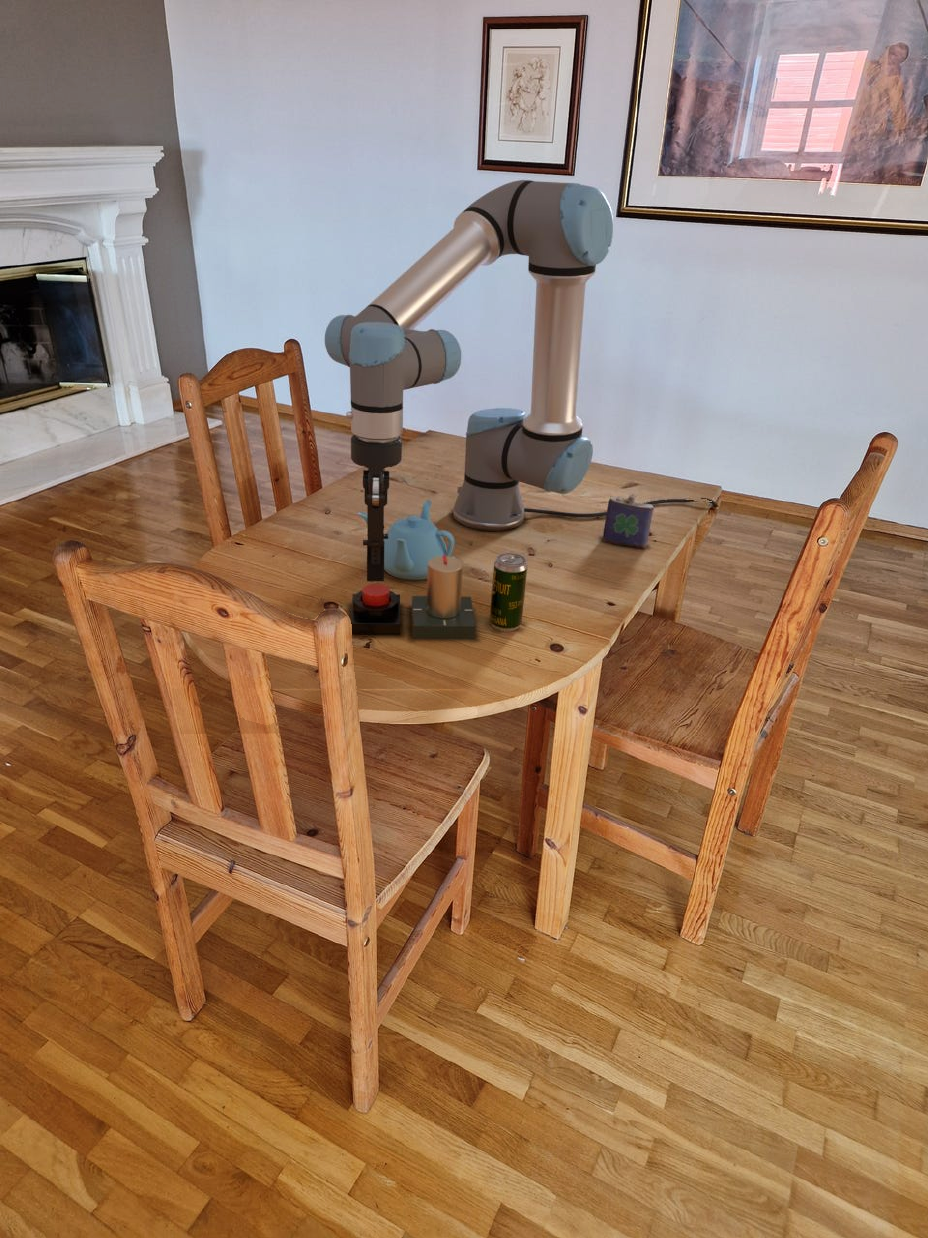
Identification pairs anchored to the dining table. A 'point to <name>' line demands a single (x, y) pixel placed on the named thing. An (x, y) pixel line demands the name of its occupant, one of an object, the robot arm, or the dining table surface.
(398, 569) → the teapot
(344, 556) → the dining table surface
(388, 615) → the button box
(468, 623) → the block
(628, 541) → the flask
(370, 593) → the button
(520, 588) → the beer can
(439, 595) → the tan upright cylinder
